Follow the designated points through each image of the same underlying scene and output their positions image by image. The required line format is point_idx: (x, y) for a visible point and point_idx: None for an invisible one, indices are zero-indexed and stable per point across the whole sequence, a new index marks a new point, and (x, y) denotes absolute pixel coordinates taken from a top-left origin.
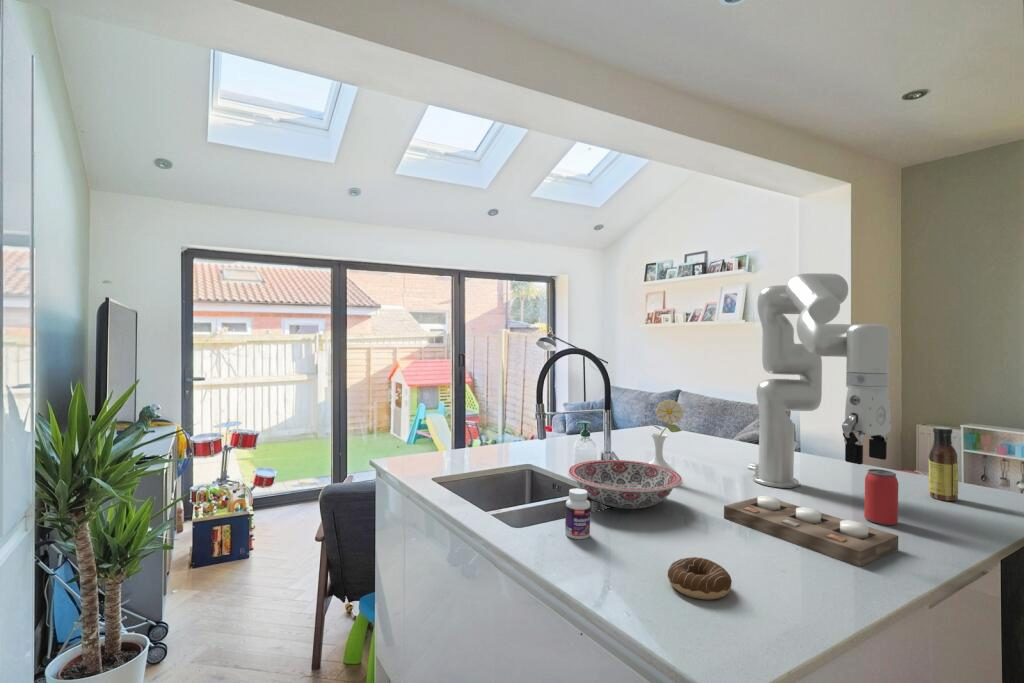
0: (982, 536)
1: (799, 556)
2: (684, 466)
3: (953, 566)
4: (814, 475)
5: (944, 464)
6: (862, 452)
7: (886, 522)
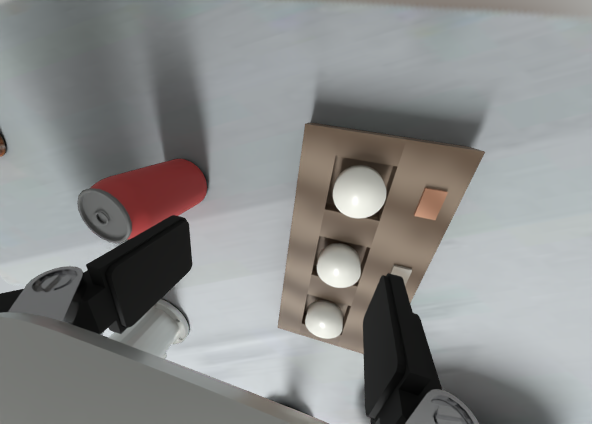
0: (100, 33)
1: (486, 232)
2: None
3: (318, 18)
4: None
5: None
6: (403, 323)
7: (198, 170)
